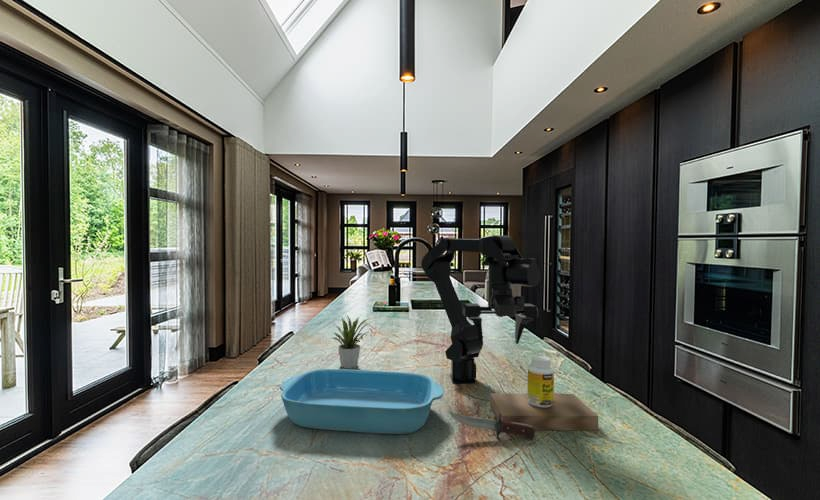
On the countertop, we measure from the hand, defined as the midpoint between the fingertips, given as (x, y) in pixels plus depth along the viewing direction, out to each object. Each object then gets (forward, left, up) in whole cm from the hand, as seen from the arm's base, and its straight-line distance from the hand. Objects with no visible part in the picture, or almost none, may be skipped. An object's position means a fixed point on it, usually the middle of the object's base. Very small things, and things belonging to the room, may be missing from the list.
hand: (499, 343), depth 99 cm
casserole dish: (-34, -13, -14) cm, 39 cm away
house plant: (-41, +22, -13) cm, 48 cm away
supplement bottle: (+6, -14, -10) cm, 18 cm away
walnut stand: (+6, -14, -13) cm, 20 cm away
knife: (-7, -23, -13) cm, 28 cm away
